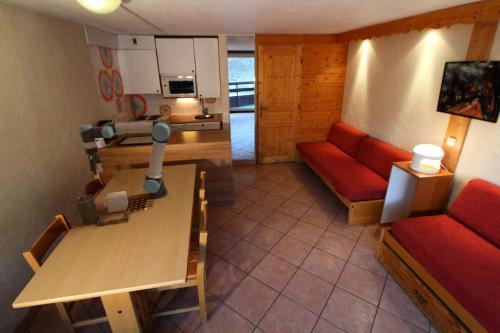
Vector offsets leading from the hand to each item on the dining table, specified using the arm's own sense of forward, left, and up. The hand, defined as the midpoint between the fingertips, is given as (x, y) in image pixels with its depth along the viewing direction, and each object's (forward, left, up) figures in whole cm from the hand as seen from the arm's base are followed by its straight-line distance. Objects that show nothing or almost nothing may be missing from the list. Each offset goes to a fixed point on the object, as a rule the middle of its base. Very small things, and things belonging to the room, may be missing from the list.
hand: (99, 175), depth 182 cm
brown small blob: (+4, +4, -26) cm, 27 cm away
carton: (-9, +5, -26) cm, 28 cm away
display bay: (-9, +19, -26) cm, 34 cm away
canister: (+7, +18, -27) cm, 33 cm away
